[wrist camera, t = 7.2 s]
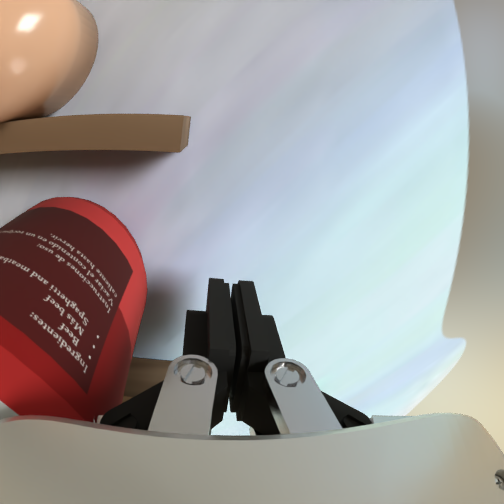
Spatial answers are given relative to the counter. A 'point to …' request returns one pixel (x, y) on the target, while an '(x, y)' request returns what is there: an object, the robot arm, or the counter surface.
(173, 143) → the wooden u-shaped frame
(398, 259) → the counter surface
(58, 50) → the peach egg shape
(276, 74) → the counter surface
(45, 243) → the canned food
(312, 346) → the counter surface
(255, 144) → the counter surface
